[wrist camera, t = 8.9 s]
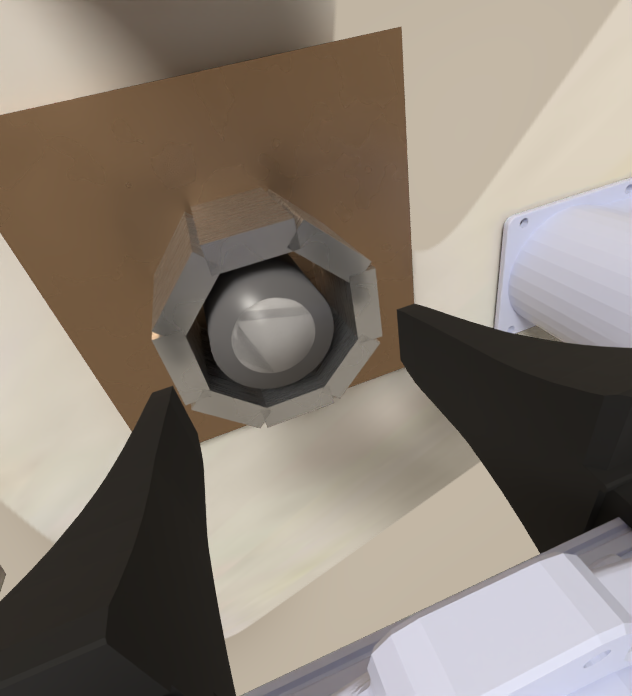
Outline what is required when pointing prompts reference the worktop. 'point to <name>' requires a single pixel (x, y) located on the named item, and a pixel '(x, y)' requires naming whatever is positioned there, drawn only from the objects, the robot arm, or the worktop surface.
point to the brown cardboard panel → (218, 219)
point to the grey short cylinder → (267, 323)
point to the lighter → (2, 577)
